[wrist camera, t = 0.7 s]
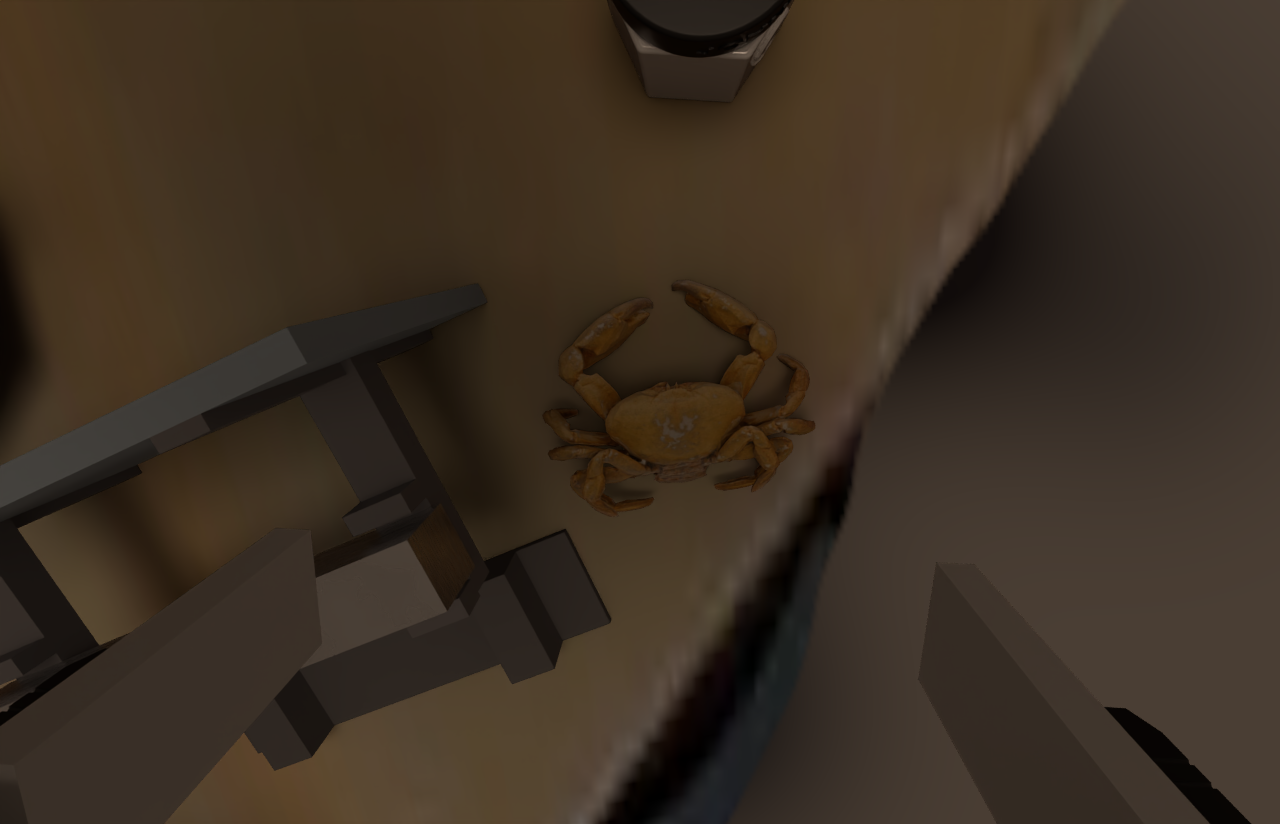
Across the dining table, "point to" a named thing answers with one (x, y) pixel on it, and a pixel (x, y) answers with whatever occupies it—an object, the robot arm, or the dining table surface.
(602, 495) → the crab model
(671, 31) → the jar
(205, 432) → the panel
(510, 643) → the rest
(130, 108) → the dining table surface
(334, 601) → the rail
